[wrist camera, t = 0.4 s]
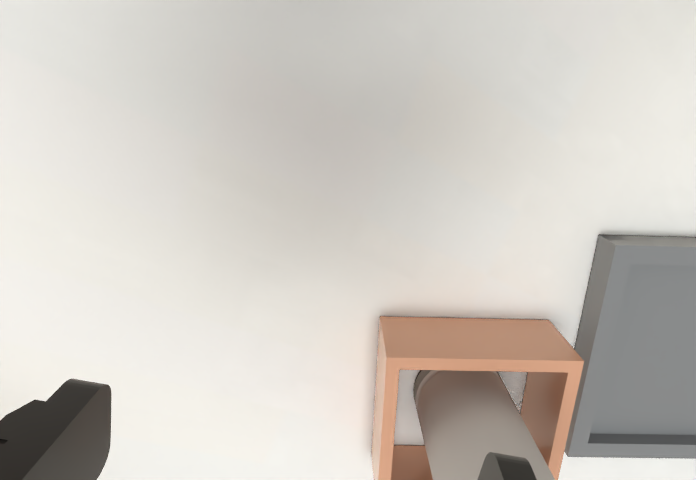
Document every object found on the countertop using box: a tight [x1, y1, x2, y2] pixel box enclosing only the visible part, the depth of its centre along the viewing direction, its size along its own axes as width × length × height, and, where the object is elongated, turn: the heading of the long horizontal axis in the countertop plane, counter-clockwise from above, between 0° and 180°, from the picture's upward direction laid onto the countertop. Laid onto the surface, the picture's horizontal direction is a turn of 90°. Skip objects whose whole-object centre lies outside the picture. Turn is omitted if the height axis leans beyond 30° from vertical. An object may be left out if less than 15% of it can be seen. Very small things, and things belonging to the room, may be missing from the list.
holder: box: [371, 316, 584, 480], centre depth 32 cm, size 12×12×5 cm
